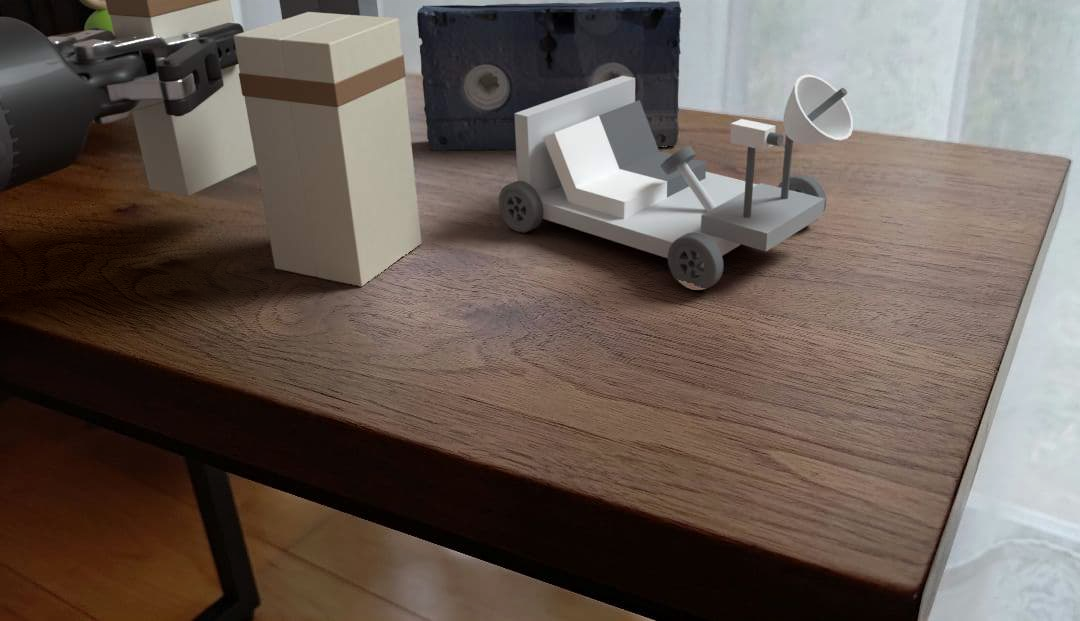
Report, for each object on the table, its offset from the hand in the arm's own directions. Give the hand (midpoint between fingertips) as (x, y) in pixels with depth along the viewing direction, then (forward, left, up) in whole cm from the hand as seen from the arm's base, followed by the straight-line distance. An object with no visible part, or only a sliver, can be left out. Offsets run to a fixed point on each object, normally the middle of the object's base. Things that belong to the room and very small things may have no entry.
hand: (215, 39), depth 58 cm
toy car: (+27, -3, -11) cm, 29 cm away
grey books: (+1, +20, -11) cm, 23 cm away
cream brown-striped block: (+8, -6, -11) cm, 15 cm away
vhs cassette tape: (+19, +13, -11) cm, 26 cm away
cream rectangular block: (-1, -3, -7) cm, 8 cm away
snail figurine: (-27, +40, -11) cm, 50 cm away
